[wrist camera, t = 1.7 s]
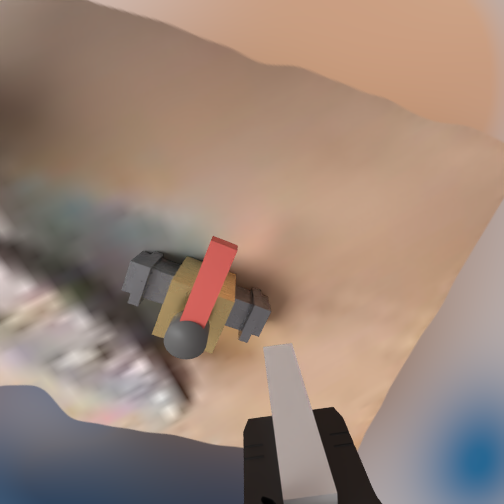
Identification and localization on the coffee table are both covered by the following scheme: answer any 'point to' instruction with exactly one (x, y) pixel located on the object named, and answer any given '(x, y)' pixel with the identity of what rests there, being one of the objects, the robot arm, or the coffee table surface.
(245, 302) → the valve
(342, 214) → the coffee table surface
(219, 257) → the lever
